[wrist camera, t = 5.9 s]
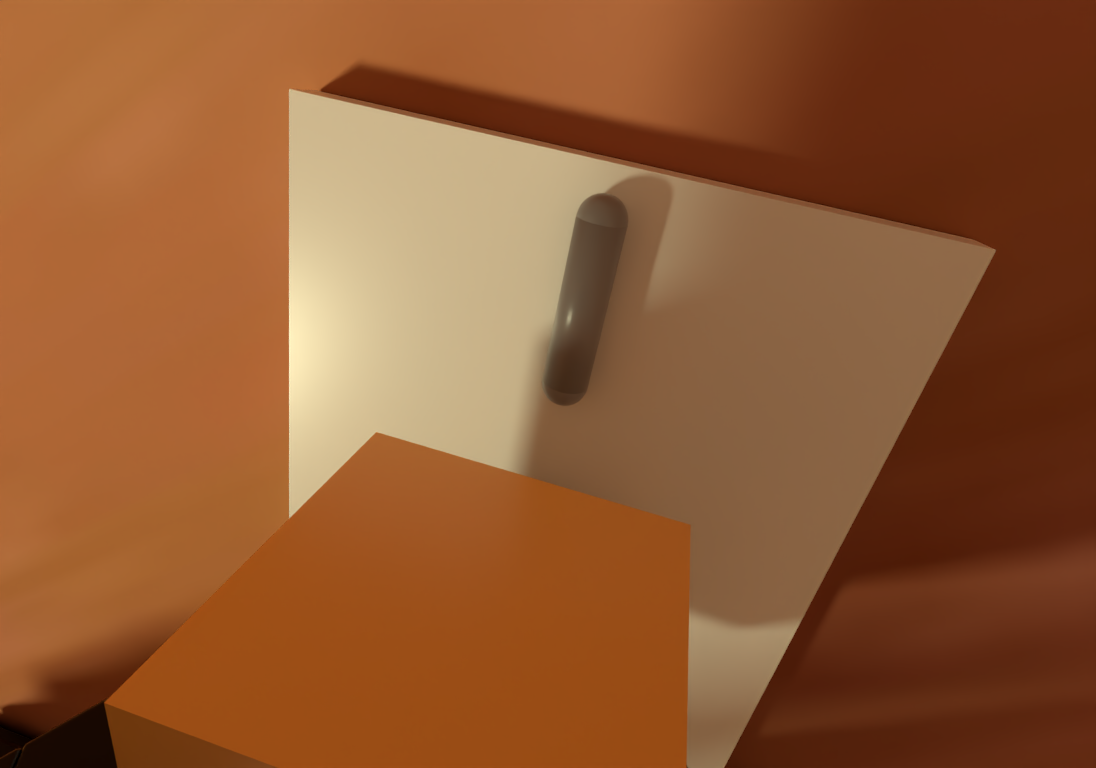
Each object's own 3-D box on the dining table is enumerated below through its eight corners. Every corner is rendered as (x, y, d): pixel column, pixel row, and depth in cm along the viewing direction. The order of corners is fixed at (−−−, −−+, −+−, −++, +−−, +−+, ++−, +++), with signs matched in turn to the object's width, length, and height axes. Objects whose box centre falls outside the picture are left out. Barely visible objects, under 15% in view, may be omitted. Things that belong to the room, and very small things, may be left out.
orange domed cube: (611, 737, 11) (532, 1313, 6) (360, 650, 12) (76, 1102, 6) (690, 524, 9) (680, 1139, 4) (376, 431, 10) (-35, 840, 4)
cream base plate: (700, 780, 15) (700, 1021, 11) (306, 644, 17) (179, 817, 13) (973, 239, 9) (1191, 340, 5) (316, 90, 11) (75, 76, 6)
